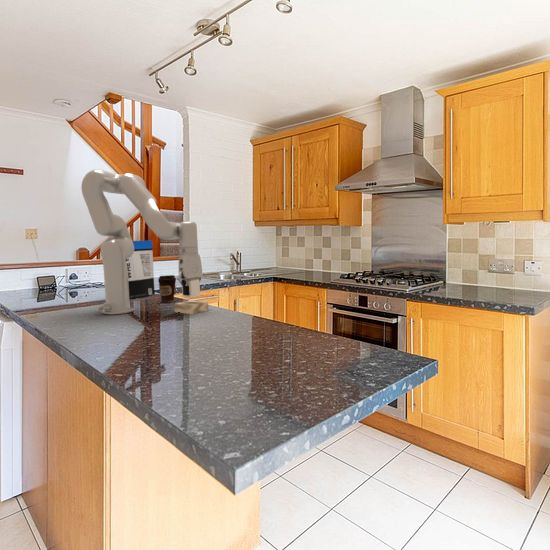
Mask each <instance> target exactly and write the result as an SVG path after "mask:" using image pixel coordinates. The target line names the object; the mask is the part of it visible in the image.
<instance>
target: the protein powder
mask: <svg viewBox="0 0 550 550" xmlns="http://www.w3.org/2000/svg"><path fill="white" fill-rule="evenodd" d="M132 241H133V244H134V253H133V255H132V256H131V257H130V258H128V259H125V260H126V264H127V269H128V283H129V300H137V299H136V298H138V299H143V298H149V297H151V296H153V295H156V294H155V293H156V292H155V278H154V277H155V276H154V255H153V253H154V251H153V250H154V249H153V240H149V239H148V240H132Z"/></svg>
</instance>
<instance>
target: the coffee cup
mask: <svg viewBox="0 0 550 550" xmlns="http://www.w3.org/2000/svg"><path fill="white" fill-rule="evenodd" d="M175 276H176V275H175V274H171V275H170V274H168V275H159V277H158V280H157V281H158V288H159V295H160V301H161V302H160V303H174V301H175V294H176V282H177V277H175Z"/></svg>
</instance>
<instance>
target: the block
mask: <svg viewBox="0 0 550 550" xmlns="http://www.w3.org/2000/svg"><path fill="white" fill-rule="evenodd" d="M173 305H174V313H178V312H180V313H179V314H185V313H186V315H194V313H195V314H198V312H199V313H203V311H204V312H208V311H209V301H202V300H193V299H192V300H187V301H186V300H185V301H182V302H180V301H179V302H176V303H173Z"/></svg>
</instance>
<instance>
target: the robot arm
mask: <svg viewBox="0 0 550 550" xmlns="http://www.w3.org/2000/svg"><path fill="white" fill-rule="evenodd" d="M80 188H81V194H82V197H83V200H84V202H85V205H86V207H87V209H88V213H89V217H90V218H91V221H92V224H93V226H94V229H95V231H96V232H97V233H98V235H100V236H102V237H108V239H106V240H104V241H103V242H102V244H101V246H100V258H101V262H102V267H103V279H104V295H105V296H104V297H105V302H103V304H102V305H97V306H95V310H96V311H97V312H99V311H102V314H103V315H122V314H128V313H132V312H134V309H135V308H134V307H133V306H132V307H131V304H130V302H131V301H130V299H129V283H128V269H127V264H126V260H125V259H128V258H130V257H131V256H132V255H133V253H134V244H133V241H134V240H133V239H132V237H131V234H130V231H129V228H128V226H127V223H126V222H125V220H124V219H123V218H122V217H121V216H120V215H117V214H114V213H113V211H112V209H111V206H110V202H109V201H108V199H107V197H106V196H105V194H104V193H108V194H109V193H110V194H116V195H117V194H118V195H125V197H126V198H127V199H128V200H129V201H130V203H132V205H133V206H134V207H135V208H136V209H137V210H138V212H139V213H140V215H141V217H142V219H143V221H144V222H145V224H146V225H147V227H148V228H149V229H150V230H151V231H152V232H153V234H155V235H156V236H157V237H158V238H159V239H161V240H164V241H174V240H175V241H176V240H178V243H179V244H178V245H179V250H178V252H179V255H178V256H179V257H178V275H177V277H176V281H178V282H179V284H180V286H181V287H182V286H183V295H190V293H189V286H188V282H189V281H188V279H192V278H198V277H199V278H200V279H199V282H200V283H201V280H202V278H203V276H204V274H203V266H202V259H201V255H200V254H199V245H198V244H199V243H198V240H199V239H198V226H197V223H196V222H194V221H181V222H174V221H169V220H168V219H167V218H166V217H165V216H164V215H163V213H162V212H161V211H160V209H159V208H158V205H157V199H156V198H155V196H154V195H153V194H152V193H151V192H150V190H149V189H148V188H147V187H146V182H145V180H144V179H143V178H142V177H140V175H136V174H133V173H131V172H127V173H123V174H118V173H113V172H109V171H107V170H104V169H99V168H98V169H92V170H90V171H88V172H87V173H86V174H85V175H84V176H83V178H82V182H81V187H80ZM185 280H186V282H185Z"/></svg>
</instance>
